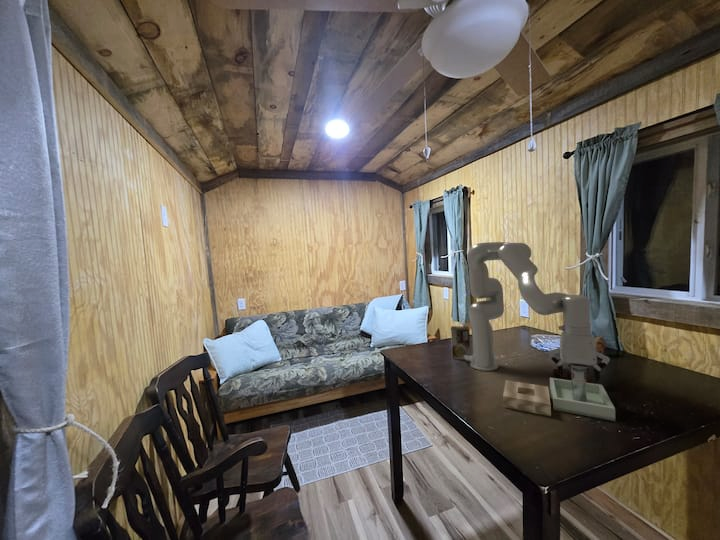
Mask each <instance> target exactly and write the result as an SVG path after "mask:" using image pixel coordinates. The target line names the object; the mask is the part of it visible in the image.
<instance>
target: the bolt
mask: <svg viewBox="0 0 720 540" xmlns="http://www.w3.org/2000/svg"><path fill="white" fill-rule="evenodd" d="M552 375H553V376H554V377H556V378H557V377H558V378H560V379H564V380H571V381H572V371H570V369H568V368H563V377H561V376H560V374H558V368H554V369H552ZM600 379H601V378H600ZM600 379H598V382H596V381H595V380H594V378H593V373H592V374H586V383H593V384H600V385H601V383H600Z"/></svg>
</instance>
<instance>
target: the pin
mask: <svg viewBox="0 0 720 540" xmlns="http://www.w3.org/2000/svg"><path fill="white" fill-rule="evenodd" d="M567 366H568V367H569V368H571V372H572V380H571V381H572V398H573V400H576V401H582V402H587V391H586V375H587V370H589V369H590V365H582V364H573V363H567Z"/></svg>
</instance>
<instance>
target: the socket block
mask: <svg viewBox="0 0 720 540" xmlns="http://www.w3.org/2000/svg"><path fill="white" fill-rule="evenodd" d="M504 382H505V383H504V388H503V393H502V401H503V402H502V403H503V408H506V409H511V410H517V411H522V412H528V413H533V414H537V415H543V416H547V417H552V410H551V409H552V407H551V406H552V404H551V399H550V391H549V390H550V389H549V386H547V385H546V386H545V385H540V384H533V383H526V382H521V381H513V380H507V379H505V381H504Z"/></svg>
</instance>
